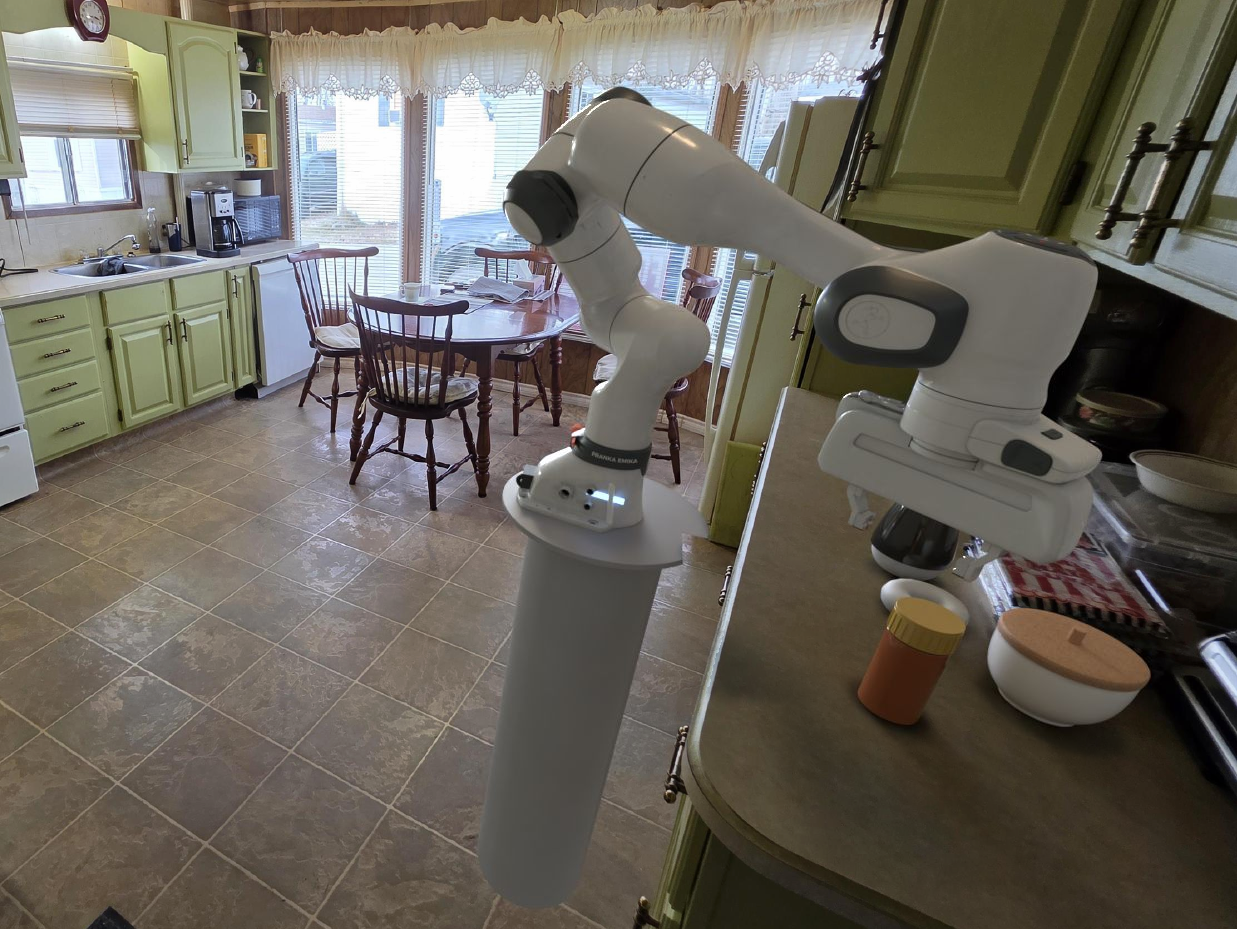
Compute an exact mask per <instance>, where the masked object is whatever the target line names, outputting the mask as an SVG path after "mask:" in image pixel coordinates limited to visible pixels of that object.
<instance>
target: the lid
mask: <svg viewBox="0 0 1237 929" xmlns="http://www.w3.org/2000/svg"><path fill="white" fill-rule="evenodd" d="M886 621H887V622H886V626H888V628H889V630H890V631H891V633H892V634H893V635H894V636H895V637H897V638H898V639H899V640H901V641H902V642H904V643H905V644H907V645H909V646H911V647H913V648H915V649H918V650H921V651H923V652H927V653H931V654H936V655H949V654H951V653H952V654H954V653H956V650H958V647H959V645H960V644H961V641H962V639H963V638H964V636H965V633H966V632H965V631H966V629H967V626H965V623H964V622H963V620H962V619H961V618H960V617H959V616H957V615H956V614H955V613H953V612H952V611H950V610H949V609H947V608H945V607H943V606H941V605H939V604H936V603H934V602H931V601H928V600H924V599H920V598H914V597H903V598H900V599H898V600H897V602H896V604H895V605H894V606H893V608H892V610H891V612H889V615H888V617H887V619H886Z"/></svg>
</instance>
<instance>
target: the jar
mask: <svg viewBox="0 0 1237 929" xmlns="http://www.w3.org/2000/svg"><path fill="white" fill-rule="evenodd" d="M952 655H953V653H951V654H949V655H936V654H931V653H927V652H923V651H921V650H918V649H915V648H913V647H911V646H909V645H907V644H905V643H904V642H902V641H901V640H899V639H898V638H897V637H895V636H894V635H893V634H892V633H891V631H890V630H889V628H888V626H887V625H886V626H885V628H884V631H883V633H882V636H881V637H880V639H879V642H878V644H877V646H876V648H875V651H874V653H873V656H872V658H871V660H870V662H869V663H868V664H869V665H868V666H867V669H866V671H865V673H864V675H863V678H862V680H861V683H860V684H859V687H858V689H857V697H858V699H859V701H860V703H861V704H862V705H863V706H864V707H865V708H866V709H867V710H868V711H869V712H871V713H873V714H874V715H875V716H877V717H878V718H881V719H884V720H885V721H888V722H890V723H893V724H897V725H902V726H910V725H915V724H916V723H918V722H919V721H920V718H921V716H922V714H923V713H924V710H925V708H926V706H927V704H928V702H929V700H930V698H931V697H932V695H933V692H934V691H935V688H936V686H937V685H938V682H939V680H940V678H941V676H942V674H943V672H944V671H945V669H946V666H947V665H948V663H949V661H950V658H952Z"/></svg>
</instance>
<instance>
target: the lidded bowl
mask: <svg viewBox="0 0 1237 929" xmlns="http://www.w3.org/2000/svg"><path fill="white" fill-rule="evenodd" d="M986 657H987V658H986V659H987V667H988V670H989V674H990V676H991V678H992V679H993V681H994V683H995V684H996V686H997V690H998V692H999V694H1000V695H1001V697H1002V698H1003V699H1004V700H1005V701H1006V702H1008V704H1010V705H1011V707H1013V708H1015V709H1016V710H1018V711H1019V712H1021V713H1023V714H1024V715H1027V716H1028V717H1031V718H1032V719H1035V720H1037V721H1039V722H1043V723H1044V724H1048V725H1051V726H1055V727H1056V726H1057V727H1063V728H1069V727H1073V726H1085V725H1087V726H1088V725H1094V724H1099V723H1102V722H1105V721H1107V720H1110V719H1112V718H1114V717H1116V716H1117V715H1118V714H1119V713H1121V712H1122V711H1123V710H1125V708H1127V707H1128V706H1129V705H1130V704H1131V703H1132V702H1133V700H1134V699H1135V698H1136V697H1137V695H1138V694H1139V692H1140V691H1141V690H1142V689H1144V688H1145V687H1146V685H1147V684H1148V683H1149V681H1150V679H1151V670H1150V668H1149V667H1148V664H1147V663H1146V662H1145V661H1144V659H1143V658H1142V657H1141V656H1140V655H1138V654H1137V653H1136V652H1135V651H1134V650H1133V649H1132V648H1130V647H1129V646H1128V645H1126V644H1124V643H1123V642H1121V641H1120V640H1118V639H1117V638H1114V636H1112V635H1109V634H1108V633H1106V632H1104V631H1102V630H1101V629H1098V628H1095V627H1093V626H1092V625H1089V624H1086V623H1084V622H1081V621H1079V620H1077V619H1074V618H1071V617H1068V616H1065V615H1062V614H1059V613H1055V612H1051V611H1048V610H1043V609H1037V608H1029V607H1015V608H1010V609H1007V610H1005V611H1003V612H1002V613H1001V614H1000V616H999V618H998V619H997V623H996V627H995V629H994V631H993V633H992V635H991V638H990V641H989V644H988V648H987V656H986Z"/></svg>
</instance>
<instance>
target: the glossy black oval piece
mask: <svg viewBox="0 0 1237 929" xmlns="http://www.w3.org/2000/svg"><path fill="white" fill-rule="evenodd" d="M960 532H961V531H960V530H958V529H955V528H953V527H951V526H948V525H946V524H944V523H941V522H939V521H937V520H934V519H932V518H930V517H927V516H925V515H923V514H920V513H918V512H916V511H913V510H911V509H909V508H906V507H904V506H902V505H899V504H897V503H895V502H893V504H892V505H891V506H890V507H889V508H888V510H887V511H886V512H885V513H884V514H883V516H882V517H881V519H880V520H879V522H878V524H877V525H876V527H875V528H874V530H873V532H872V534H871V537H870V542H871V552H872V553H871V554H872V557H873V559H874V560H875V562H876V563H877V564H878V566H879V567H881V568H882V569H883V570H884V571H886V572H888V573H889V574H891V575H892V576H895V577H898V578H899V579H912V580H917V581H922V582H925V581H929V580H933V579H934V578H937V577H939V576H940V575H942V574H943V572H945V571H946V570H948V569H949V568H951V566H952V565H953V563H954V560H955V557H956V553H957V549H958V544H959V538H960Z"/></svg>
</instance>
